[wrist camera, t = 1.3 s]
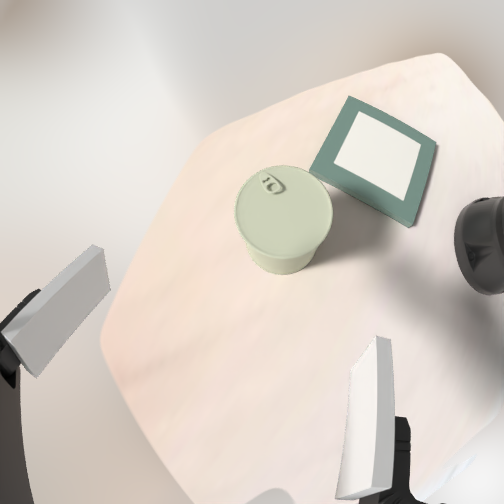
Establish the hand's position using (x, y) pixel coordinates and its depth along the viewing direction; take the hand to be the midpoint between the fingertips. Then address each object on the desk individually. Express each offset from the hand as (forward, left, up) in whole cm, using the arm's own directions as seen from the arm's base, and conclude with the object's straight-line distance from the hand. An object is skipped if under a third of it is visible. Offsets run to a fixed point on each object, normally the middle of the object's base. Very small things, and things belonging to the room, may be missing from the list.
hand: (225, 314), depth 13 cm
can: (+2, -9, -24) cm, 26 cm away
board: (-5, -27, -24) cm, 37 cm away
